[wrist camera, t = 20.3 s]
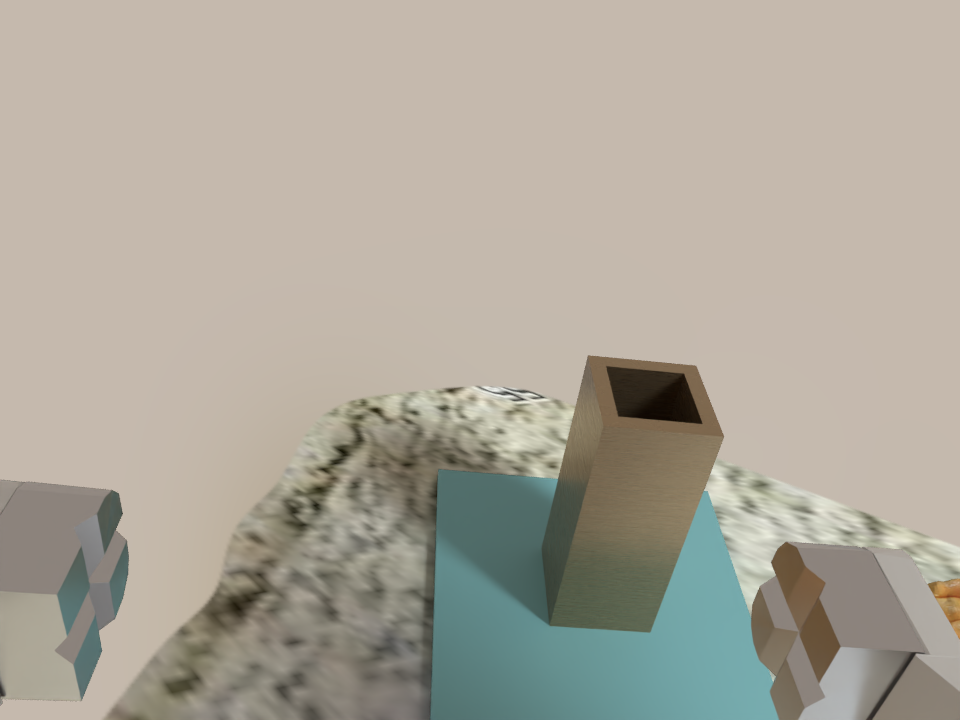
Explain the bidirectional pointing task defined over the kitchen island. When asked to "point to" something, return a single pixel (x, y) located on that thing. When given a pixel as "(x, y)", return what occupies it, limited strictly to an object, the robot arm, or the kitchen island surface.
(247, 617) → the kitchen island surface
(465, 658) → the teal hub plate
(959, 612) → the pastry
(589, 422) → the bronze sleeve
